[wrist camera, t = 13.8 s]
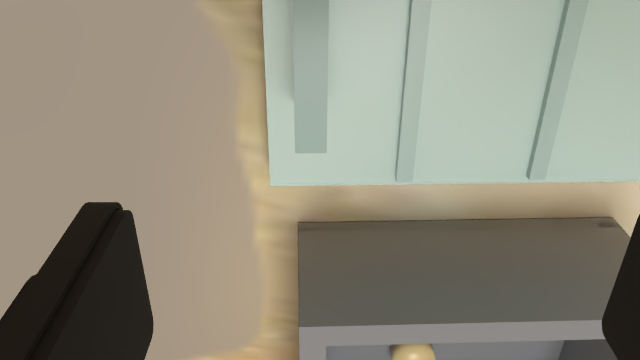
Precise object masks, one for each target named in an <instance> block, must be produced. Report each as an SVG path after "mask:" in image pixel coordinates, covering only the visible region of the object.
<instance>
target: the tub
mask: <svg viewBox="0 0 640 360" xmlns="http://www.w3.org/2000/svg"><path fill="white" fill-rule="evenodd" d="M630 239H631V238H630V237H629V236H628V234H627V233H626V232H625V231H624V230H623V229H622V228H621V226H620V225H619V224H618V223H617V222H616V221H615V220H614V219H613V217H610V218H550V219H491V220H431V221H371V222H311V223H298V287H299V360H618V359H617V357H616V356H615V354H614V352H613V351H612V349H611V347H610V346H609V344H608V343H607V341H606V339H605V337H604V335H603V331H602V318H603V315H604V312H605V309H606V306H607V303H608V301H609V298H610V295H611V292H612V289H613V286H614V284H615V281H616V278H617V275H618V272H619V270H620V267H621V264H622V261H623V258H624V255H625V253H626V250H627V247H628V244H629V241H630Z"/></svg>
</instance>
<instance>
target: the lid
mask: <svg viewBox="0 0 640 360" xmlns="http://www.w3.org/2000/svg"><path fill="white" fill-rule="evenodd" d="M262 12H263V35H264V57H265V80H266V103H267V126H268V148H269V171H270V186H329V185H405V184H481V183H557V182H633V181H640V0H262Z"/></svg>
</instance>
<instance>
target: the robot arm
mask: <svg viewBox="0 0 640 360" xmlns="http://www.w3.org/2000/svg"><path fill="white" fill-rule="evenodd" d="M602 331H603V335H604V337H605V339H606V341H607V343H608V344H609V346H610V347H611V349H612V351H613V352H614V354H615V356H616V357H617V359H618V360H640V215H639V217H638V219H637V222H636V224H635V227H634V230H633V233H632V236H631V239H630V241H629V244H628V247H627V250H626V253H625V255H624V258H623V261H622V264H621V267H620V270H619V272H618V275H617V278H616V281H615V284H614V286H613V289H612V292H611V295H610V298H609V301H608V303H607V306H606V309H605V312H604V315H603V318H602ZM152 334H153V316H152V311H151V305H150V301H149V295H148V290H147V285H146V280H145V275H144V269H143V264H142V259H141V254H140V249H139V244H138V239H137V234H136V228H135V224H134V219H133V215H132V213H131V211H129V210H123V208H122V206H121V205H120V204H119V203H117V202H115V203H114V202H88V203H85V204H84V205H83V206H82V208H81V209H80V211H79V212H78V214H77V215H76V217H75V218H74V220H73V221H72V223H71V224H70V226H69V227H68V229H67V230H66V232H65V233H64V235H63V236H62V238H61V239H60V241H59V242H58V244H57V245H56V246H55V248H54V249H53V251H52V252H51V254H50V255H49V257H48V259H47V260H46V261H45V263H44V264H43V266H42V267H41V269H40V270H39V272H38V273H37V274H36V275H34V276H32V277H31V278H30V279H29V280H28V281H27V282H26V283H25V285H24V286H23V288H22V289H21V291H20V292H19V293H18V295H17V296H16V298H15V299H14V301H13V302H12V304H11V305H10V307H9V308H8V309H7V311H6V312H5V314H4V315H3V317H2V318H1V320H0V360H144V359H145V356H146V353H147V350H148V347H149V345H150V342H151V339H152Z"/></svg>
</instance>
